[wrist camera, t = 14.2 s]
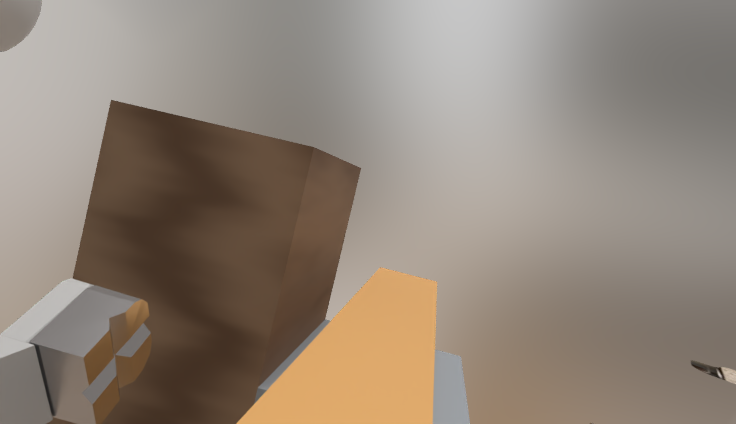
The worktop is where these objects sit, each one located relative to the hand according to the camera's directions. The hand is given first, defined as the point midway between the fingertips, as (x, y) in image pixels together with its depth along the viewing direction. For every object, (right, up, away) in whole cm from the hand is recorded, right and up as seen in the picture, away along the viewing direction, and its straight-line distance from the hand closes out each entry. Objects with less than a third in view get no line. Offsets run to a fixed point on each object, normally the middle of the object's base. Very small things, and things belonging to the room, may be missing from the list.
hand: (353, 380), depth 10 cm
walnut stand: (-11, -19, +17) cm, 28 cm away
